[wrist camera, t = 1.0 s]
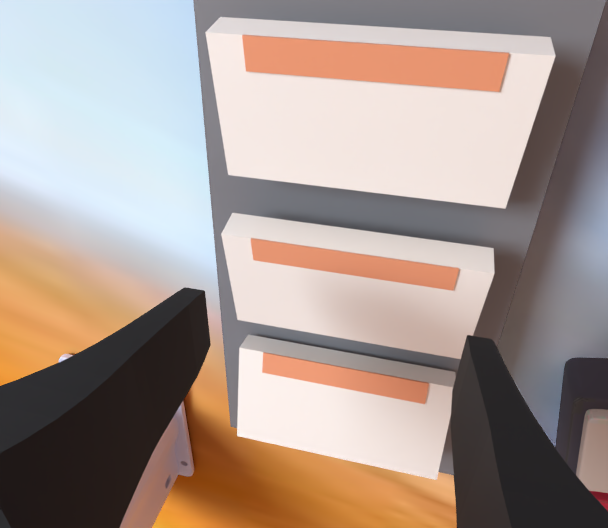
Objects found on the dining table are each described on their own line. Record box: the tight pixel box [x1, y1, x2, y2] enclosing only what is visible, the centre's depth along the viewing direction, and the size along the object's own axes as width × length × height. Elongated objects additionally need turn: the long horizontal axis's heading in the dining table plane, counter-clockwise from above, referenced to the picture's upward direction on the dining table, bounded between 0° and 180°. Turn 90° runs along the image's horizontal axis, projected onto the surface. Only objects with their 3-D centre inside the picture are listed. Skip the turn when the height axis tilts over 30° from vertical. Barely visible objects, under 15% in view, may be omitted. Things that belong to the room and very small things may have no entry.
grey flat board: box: [194, 0, 606, 475], centre depth 19 cm, size 30×12×2 cm, turn 179°
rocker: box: [221, 213, 495, 359], centre depth 19 cm, size 5×9×1 cm, turn 88°
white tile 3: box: [205, 17, 555, 209], centre depth 15 cm, size 5×9×1 cm, turn 88°
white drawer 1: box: [237, 335, 456, 480], centre depth 22 cm, size 5×9×1 cm, turn 89°
